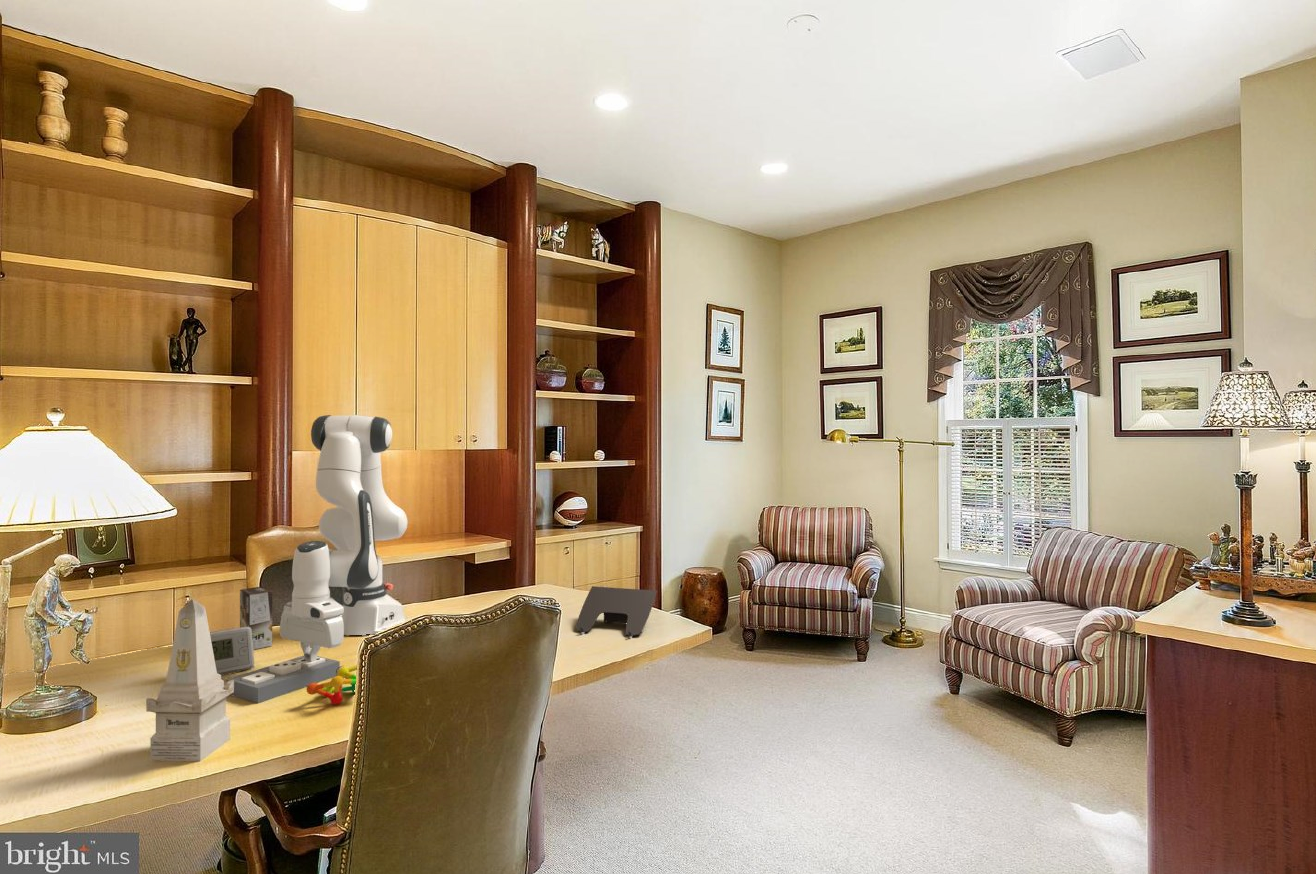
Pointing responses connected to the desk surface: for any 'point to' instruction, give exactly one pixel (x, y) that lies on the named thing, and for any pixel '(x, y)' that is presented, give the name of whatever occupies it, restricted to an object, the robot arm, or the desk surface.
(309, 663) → the button
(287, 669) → the button
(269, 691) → the button panel
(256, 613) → the coffee box
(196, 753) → the miniature monument
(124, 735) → the desk surface
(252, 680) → the button
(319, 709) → the desk surface
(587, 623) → the portable electronic device stand
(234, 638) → the digital clock
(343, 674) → the decorative model
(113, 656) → the desk surface
